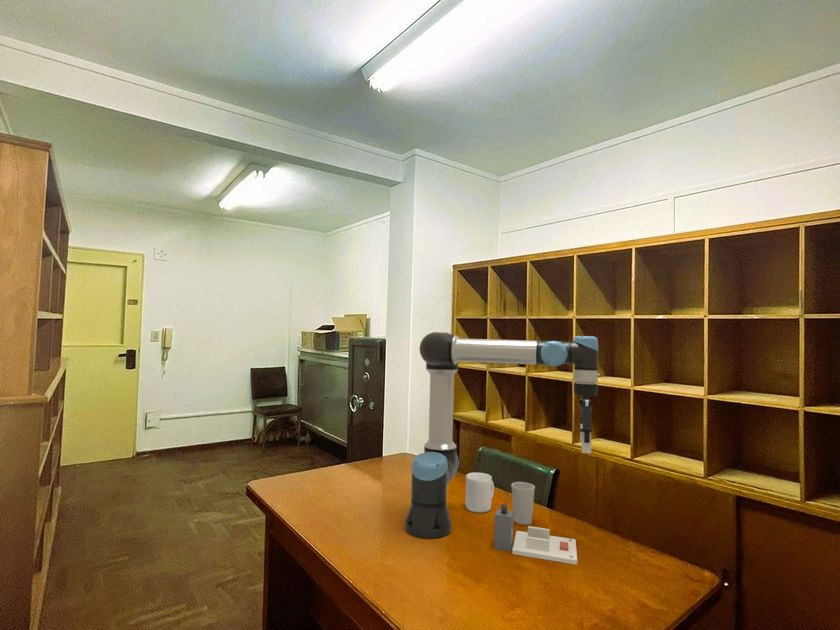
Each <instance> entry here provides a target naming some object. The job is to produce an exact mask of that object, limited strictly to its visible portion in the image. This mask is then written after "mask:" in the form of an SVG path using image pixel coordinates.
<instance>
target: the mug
mask: <svg viewBox="0 0 840 630" xmlns="http://www.w3.org/2000/svg"><path fill="white" fill-rule="evenodd" d="M492 479H493V478H492V476H491V475H490V474H488V473H484V472H469V473H467V474H466V476H465V508H466V509H467V510H468V511H470V512H473V513H480V514H481V513H487V512H489V511H491V509H492V498H493V497H494V494H495V484H494V481H493V480H492Z"/></svg>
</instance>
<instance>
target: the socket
mask: <svg viewBox="0 0 840 630" xmlns="http://www.w3.org/2000/svg"><path fill="white" fill-rule="evenodd" d="M511 553H512V555H515V556H516V555H517V556H523V557H528V558H534V559H541V560H546V561H552V562H560V563H564V564H571V565H577V566H578V551H577V542H576V538H575V539H574V538H567V537H562V536H555V535H550V528H543V527H538V526H532V525H528V526H527V531H521V530H516V532H515V536H514V540H513V545H512V550H511Z"/></svg>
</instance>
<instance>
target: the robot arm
mask: <svg viewBox="0 0 840 630" xmlns="http://www.w3.org/2000/svg"><path fill="white" fill-rule="evenodd" d="M419 354H420V357H421V359H422V360H423V361H424V362H425V369H426V371H427V373H429V409H428V410H429V411H428V412H429V413H428V416H429V417H428V440H427V442H425V443H424V444H423V445H424V447H423V448H424V449H423V450H424V451H423V453H422V452H421V453H418V454H417V455H415V456H414V458H413V460H412V462H411V498H410V500H411V501H410V506H409V510H408V513H407V516H406V518H405V524H404V525H405V527H404V528H405V532H406V533H408V534H409V535H411V536H413V537H416V538H421V539H439V538H442V537H446V536H447V535H449V534H450V533H451V531H452V519H451V517H450V513H449V510H448V507H447V493H448V489H447V488H448V485H449V483H451V481H452V479H454V477H456V475H457V472H458V470H459V465H460V461H459V457H458V454H457V444H456V443H455V442H454V441H453V427H454V426H453V425H454V423H453V421H454V420H453V419H454V418H453V417H454V383H455V382H454V381H455V380H454V376H455V374H456V373H457V372H458V371H459V363H460V362H468V363H469V362H470V363H488V364H489V363H493V364H513V365H514V364H517V365H519V364H520V365H536V366H537V365H538V366H550V367H558V366H561V365H573V381H574V383H573V394H574V395H576V396H580V399H579V400H578V405H579V410H580V413H579V414H580V417H579V422H580V425H579V427H580V428H579V430H580V431H579V436H580V437H579V442H580V444H581V453H583V454H592V431H593V428H592V413H593V400H592V399H591V398H590V397H594V396H595V397H596V396H598V395H599V385H598V384H597V383H598V382H599V378H598V377H600V376H601V374H600V373H599V340H598V338H597V337H596V336H592V335H591V336H590V335H588V336H587V335H576V336H574V338H573V341H558V340H522V339H520V340H519V339H493V338H492V339H490V338H489V339H488V338H486V339H485V338H460V337H459V336H458V335H455V334H454V335H453V334H452V333H450V332H449V333H448V332H444V331H443V332H441V331H440V332H438V331H435V332H434V331H433V332H429V333H427V334H426V335H425V336H423V338H422V339H421V341H420V343H419Z"/></svg>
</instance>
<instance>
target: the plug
mask: <svg viewBox="0 0 840 630" xmlns="http://www.w3.org/2000/svg"><path fill="white" fill-rule="evenodd" d="M495 510H496V511H495V514H494V529H493V530H494V531H493V532H494V535H493V536H494V538H493V548H494V550H499V551H500V550H501V551H504V552H505V551H506V552H511V553H512V549H513V545H514V540H513V539H514V538H513V537H514V536H513V535H514V521H513V510H508V504H507V503H501V504H500V508H496V509H495Z"/></svg>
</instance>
